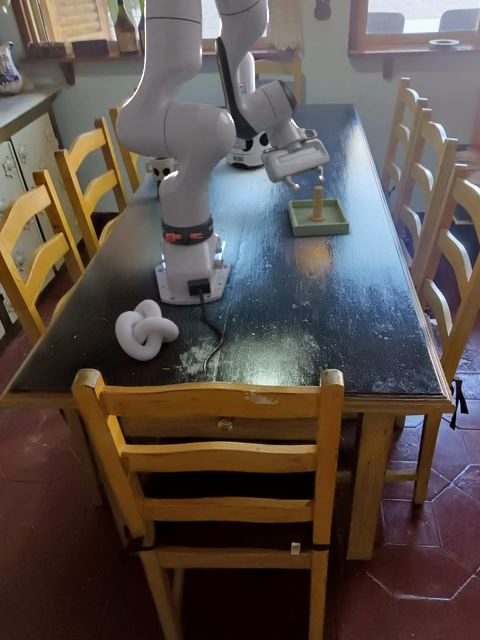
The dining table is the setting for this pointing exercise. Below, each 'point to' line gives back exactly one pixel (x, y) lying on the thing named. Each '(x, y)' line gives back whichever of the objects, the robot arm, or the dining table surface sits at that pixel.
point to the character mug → (160, 168)
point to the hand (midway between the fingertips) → (309, 187)
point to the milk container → (248, 151)
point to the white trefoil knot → (144, 330)
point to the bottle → (247, 73)
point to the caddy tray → (318, 227)
